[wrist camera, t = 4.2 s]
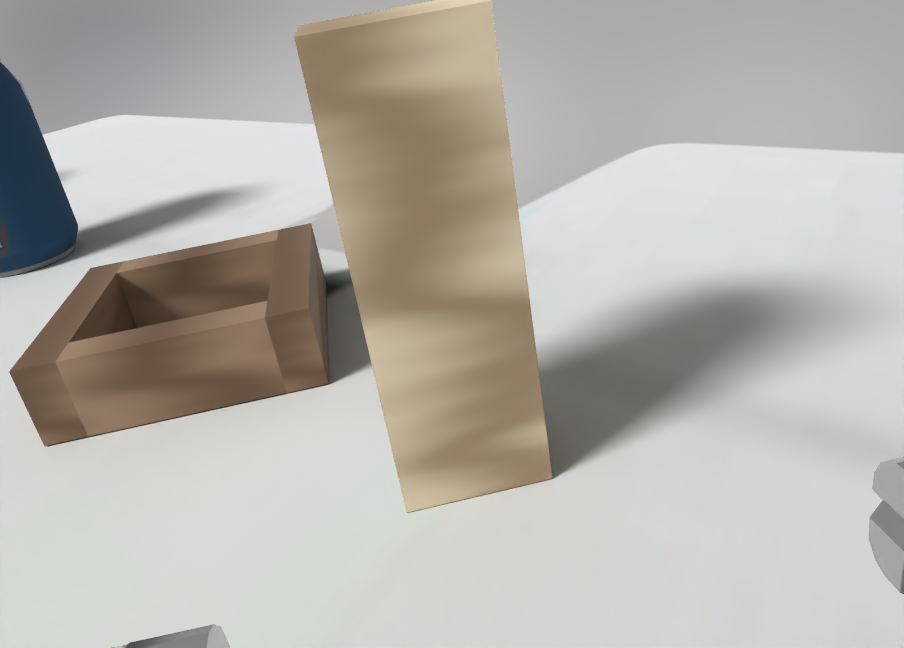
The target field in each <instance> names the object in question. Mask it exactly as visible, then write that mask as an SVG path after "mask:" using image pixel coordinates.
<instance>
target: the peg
mask: <svg viewBox="0 0 904 648" xmlns="http://www.w3.org/2000/svg"><path fill="white" fill-rule="evenodd" d="M294 38H295V42H296V46H297V50H298V54H299V59H300V63H301V67H302V72H303V75H304V80H305V84H306V88H307V93H308V97H309V101H310V105H311V110H312V113H313V118H314V122H315V127H316V131H317V135H318V139H319V143H320V148H321V152H322V156H323V160H324V165H325V169H326V173H327V177H328V182H329V186H330V190H331V194H332V198H333V203H334V207H335V211H336V215H337V220H338V223H339V228H340V232H341V236H342V241H343V245H344V249H345V253H346V258H347V262H348V266H349V270H350V275H351V279H352V283H353V287H354V292H355V296H356V300H357V304H358V308H359V313H360V317H361V321H362V325H363V330H364V334H365V338H366V342H367V347H368V351H369V355H370V359H371V363H372V368H373V372H374V376H375V380H376V385H377V389H378V393H379V397H380V402H381V406H382V410H383V414H384V418H385V423H386V427H387V431H388V435H389V440H390V444H391V448H392V452H393V457H394V461H395V465H396V469H397V473H398V478H399V482H400V486H401V490H402V495H403V499H404V503H405V507H406V512H407V513H408V512H412V511H416V510H420V509H425V508H429V507H433V506H438V505H442V504H446V503H450V502H455V501H459V500H463V499H467V498H472V497H476V496H480V495H484V494H489V493H493V492H497V491H502V490H506V489H510V488H514V487H519V486H523V485H527V484H531V483H536V482H540V481H544V480H549V479H552V471H551V463H550V456H549V448H548V440H547V432H546V424H545V416H544V409H543V401H542V393H541V385H540V377H539V370H538V362H537V354H536V346H535V338H534V330H533V323H532V315H531V307H530V299H529V291H528V283H527V276H526V268H525V260H524V252H523V244H522V236H521V229H520V221H519V213H518V205H517V197H516V190H515V183H514V174H513V166H512V158H511V151H510V143H509V135H508V127H507V119H506V112H505V104H504V96H503V88H502V80H501V72H500V64H499V57H498V49H497V42H496V33H495V25H494V18H493V10H492V2H491V0H436V1H430V2H425V3H419V4H414V5H408V6H403V7H397V8H392V9H386V10H382V11H376V12H371V13H365V14H359V15H354V16H348V17H343V18H337V19H332V20H326V21H321V22H315V23H310V24H305V25H299V27H298V29H297V32H296V34H295V37H294Z"/></svg>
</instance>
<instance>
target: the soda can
mask: <svg viewBox="0 0 904 648" xmlns="http://www.w3.org/2000/svg"><path fill="white" fill-rule="evenodd" d="M77 231H78V224H77V221H76V219H75V216H74V214H73V211H72V209H71V206H70V204H69V201H68V199H67V196H66V194H65V191H64V189H63V186H62V184H61V181H60V179H59V176H58V174H57V171H56V169H55V166H54V163H53V161H52V158H51V156H50V153H49V151H48V148H47V146H46V143H45V141H44V138H43V136H42V133H41V131H40V128H39V126H38V123H37V121H36V118H35V116H34V113H33V110H32V108H31V105H30V103H29V100H28V98H27V95H26V93H25V90H24V88H23V85H22V83H21V82H20V81H19V80H18V79H17V78H16V77H15V76H14V75H13V74H12V73H11V72H10V71H9V70H8V69H7V68H6V67H5V66H4V65H3V64H2V63H1V62H0V278H1V277H8V276H13V275H17V274H22V273H25V272H29V271H32V270H36V269H39V268H41V267H44V266H47V265H49V264H52V263H54V262H56V261H58V260H60V259H62V258H64V257H66V256H67V255H69V254H70V253H71V252H72V251H73V250H74V246H75V242H76V237H77Z"/></svg>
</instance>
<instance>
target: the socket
mask: <svg viewBox="0 0 904 648" xmlns="http://www.w3.org/2000/svg"><path fill="white" fill-rule="evenodd" d="M9 372H10V375H11V377H12V379H13V381H14V383H15V385H16V387H17V389H18V391H19V393H20V396H21V398H22V400H23V402H24V404H25V406H26V408H27V410H28V412H29V414H30V417H31V419H32V421H33V423H34V425H35V427H36V429H37V431H38V433H39V435H40V438H41V440H42V442H43V444H44V446H48V445H52V444H57V443H61V442H66V441H70V440H75V439H79V438H84V437H89V436H93V435H98V434H102V433H107V432H111V431H116V430H120V429H125V428H130V427H134V426H139V425H143V424H148V423H152V422H157V421H161V420H166V419H170V418H175V417H180V416H184V415H189V414H193V413H198V412H202V411H207V410H211V409H216V408H220V407H225V406H230V405H234V404H239V403H243V402H248V401H252V400H257V399H261V398H266V397H270V396H275V395H280V394H284V393H289V392H293V391H298V390H302V389H307V388H311V387H316V386H320V385H325V384H329V381H328V339H327V298H326V281H325V277H324V273H323V269H322V265H321V261H320V257H319V253H318V249H317V245H316V241H315V237H314V233H313V229H312V225H311V223H310V224H305V225H300V226H295V227H291V228H286V229H281V230H276V231H271V232H266V233H261V234H256V235H251V236H246V237H241V238H237V239H232V240H227V241H222V242H217V243H212V244H207V245H202V246H197V247H192V248H187V249H183V250H178V251H173V252H168V253H163V254H158V255H153V256H148V257H143V258H138V259H133V260H129V261H124V262H119V263H114V264H109V265H104V266H99V267H94V268H90V270H89V271H88V272H87V273H86V275H85V276H84V277H83V279H82V280H81V281H80V282H79V284H78V285H77V286H76V287H75V289H74V290H73V291H72V293H71V294H70V295H69V296H68V298H67V299H66V300H65V301H64V303H63V304H62V305H61V307H60V308H59V309H58V310H57V312H56V313H55V314H54V315H53V317H52V318H51V319H50V321H49V322H48V323H47V324H46V326H45V327H44V328H43V329H42V331H41V332H40V333H39V335H38V336H37V337H36V338H35V340H34V341H33V342H32V343H31V345H30V346H29V347H28V349H27V350H26V351H25V352H24V354H23V355H22V356H21V357H20V359H19V360H18V361H17V363H16V364H15V365H14V366H13V368H12V369H11V370H10V371H9Z"/></svg>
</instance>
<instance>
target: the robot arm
mask: <svg viewBox="0 0 904 648" xmlns="http://www.w3.org/2000/svg"><path fill="white" fill-rule="evenodd" d="M872 489H873V490H874V492H875V493H876V494H877V495H878V496H879V497H880V498H881V499H882V500H883V501H882V502H881V503H880V505H879V506H878V507H877V509H876V510H875V511H874V513H873V514H872V515H871V517H870V521H869V542H870V545H871V548H872V551H873V554H874V557H875V560H876V562H877V564H878V565H879V567H880V568H881V570H882V572H883V573H884V575H885V577H886V578H887V579H888V580H889V581H890V582H891V583H892V584H893V585H894V586H895V588H896V589H897V590H898V591H899V592H900V593H902V594H904V457H900V458H896V459H892V460H888V461H884V462H881V463H880V465H879V466H878V468H877V469H876V471H875V472H874V480H873V488H872ZM113 648H230V645H229V643H228V641H227V639H226V637H225V634H224V632H223V630H222V628H221V627H220V626H217V625H209V626H205V627H200V628H196V629H191V630H186V631H182V632H177V633H173V634H168V635H163V636H159V637H154V638H150V639H145V640H140V641H136V642H131V643H129V644H128V645H123V646H118V647H113Z"/></svg>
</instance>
